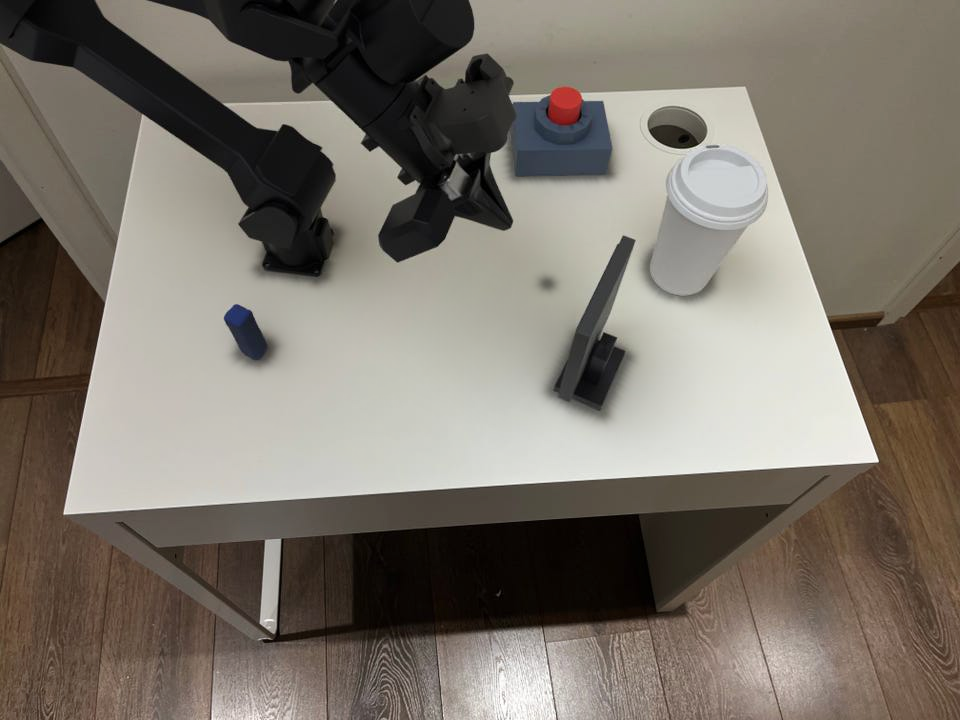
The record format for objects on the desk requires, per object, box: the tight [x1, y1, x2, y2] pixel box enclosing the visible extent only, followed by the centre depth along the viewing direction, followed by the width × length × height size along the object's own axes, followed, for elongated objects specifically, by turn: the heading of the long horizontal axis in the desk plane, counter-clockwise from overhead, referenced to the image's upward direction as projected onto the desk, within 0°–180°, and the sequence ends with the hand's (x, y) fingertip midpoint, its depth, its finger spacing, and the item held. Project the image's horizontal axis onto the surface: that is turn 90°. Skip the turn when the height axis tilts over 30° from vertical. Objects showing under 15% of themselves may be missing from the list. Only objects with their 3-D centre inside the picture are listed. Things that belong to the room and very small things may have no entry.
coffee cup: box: [649, 143, 769, 297], centre depth 71 cm, size 10×10×15 cm
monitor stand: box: [553, 331, 627, 411], centre depth 68 cm, size 5×7×6 cm
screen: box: [557, 234, 636, 403], centre depth 63 cm, size 1×11×12 cm, turn 155°
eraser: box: [223, 303, 268, 361], centre depth 68 cm, size 2×2×7 cm
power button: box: [548, 86, 583, 125], centre depth 80 cm, size 4×4×2 cm
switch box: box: [510, 94, 613, 177], centre depth 83 cm, size 11×8×6 cm
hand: (508, 226), depth 63 cm, fingers closed
